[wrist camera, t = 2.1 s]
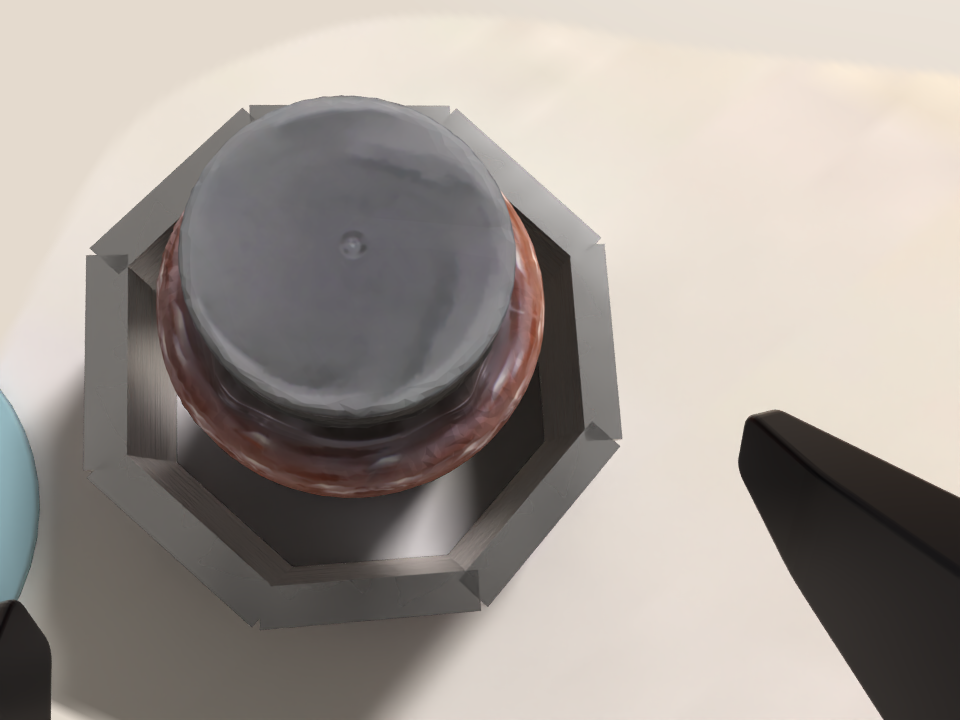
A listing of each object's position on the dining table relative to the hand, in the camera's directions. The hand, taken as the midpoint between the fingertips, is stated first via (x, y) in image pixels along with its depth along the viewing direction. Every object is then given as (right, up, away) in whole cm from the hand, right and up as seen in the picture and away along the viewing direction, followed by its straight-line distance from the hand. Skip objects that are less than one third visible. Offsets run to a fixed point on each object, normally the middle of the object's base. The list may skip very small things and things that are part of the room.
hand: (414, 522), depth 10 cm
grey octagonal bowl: (-2, +2, +11) cm, 11 cm away
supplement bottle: (-2, +2, +11) cm, 11 cm away
